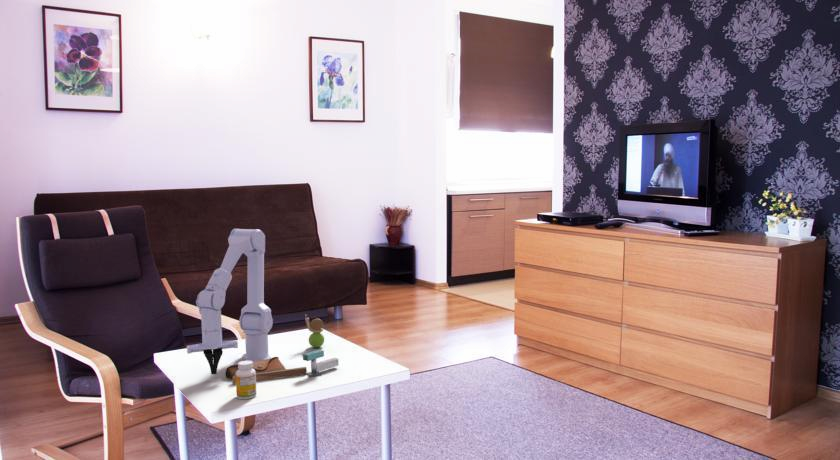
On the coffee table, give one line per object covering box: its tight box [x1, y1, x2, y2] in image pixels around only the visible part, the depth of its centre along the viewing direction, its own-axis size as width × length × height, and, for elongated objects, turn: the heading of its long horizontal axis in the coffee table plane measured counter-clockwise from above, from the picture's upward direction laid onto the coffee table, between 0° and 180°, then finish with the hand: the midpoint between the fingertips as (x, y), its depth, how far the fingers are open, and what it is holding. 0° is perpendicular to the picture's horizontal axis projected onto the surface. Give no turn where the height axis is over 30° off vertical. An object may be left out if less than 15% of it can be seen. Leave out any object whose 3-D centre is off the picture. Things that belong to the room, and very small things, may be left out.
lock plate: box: [306, 371, 322, 378], centre depth 205 cm, size 4×4×1 cm
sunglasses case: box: [225, 356, 286, 382], centre depth 207 cm, size 18×7×7 cm
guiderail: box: [232, 366, 308, 385], centre depth 202 cm, size 1×22×2 cm, turn 113°
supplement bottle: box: [235, 360, 257, 400], centre depth 186 cm, size 5×5×10 cm
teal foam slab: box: [302, 349, 339, 373], centre depth 207 cm, size 12×2×6 cm, turn 139°
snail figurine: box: [304, 314, 325, 349], centre depth 235 cm, size 5×6×12 cm
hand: (213, 373), depth 202 cm, fingers closed
